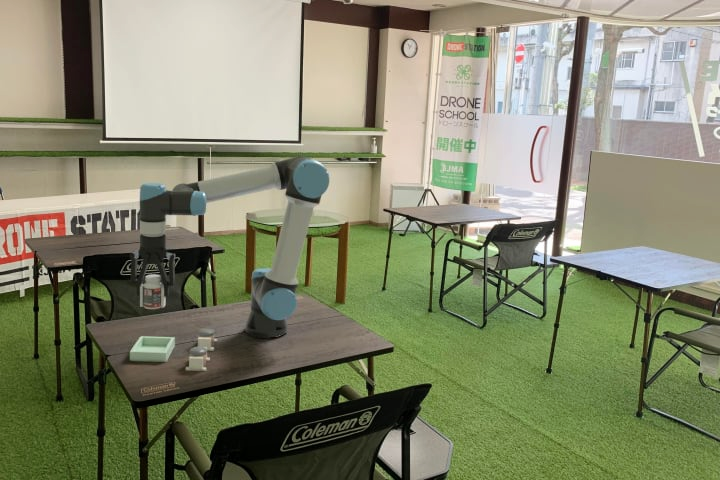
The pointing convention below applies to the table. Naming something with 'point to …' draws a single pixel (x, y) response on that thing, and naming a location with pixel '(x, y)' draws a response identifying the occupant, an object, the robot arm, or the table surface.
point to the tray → (152, 349)
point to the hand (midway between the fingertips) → (152, 305)
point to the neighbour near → (199, 353)
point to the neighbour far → (207, 334)
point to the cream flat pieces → (197, 362)
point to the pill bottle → (152, 292)
